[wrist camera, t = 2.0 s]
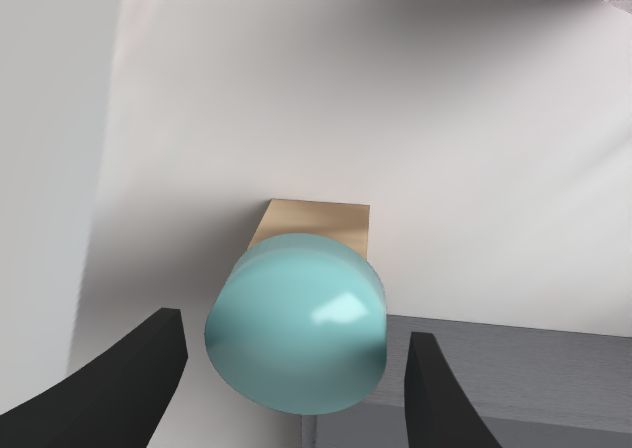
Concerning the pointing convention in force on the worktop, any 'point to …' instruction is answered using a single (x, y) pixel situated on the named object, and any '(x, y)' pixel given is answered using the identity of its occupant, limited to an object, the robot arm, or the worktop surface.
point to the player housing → (500, 388)
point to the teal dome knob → (300, 325)
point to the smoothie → (621, 4)
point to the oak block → (316, 222)
